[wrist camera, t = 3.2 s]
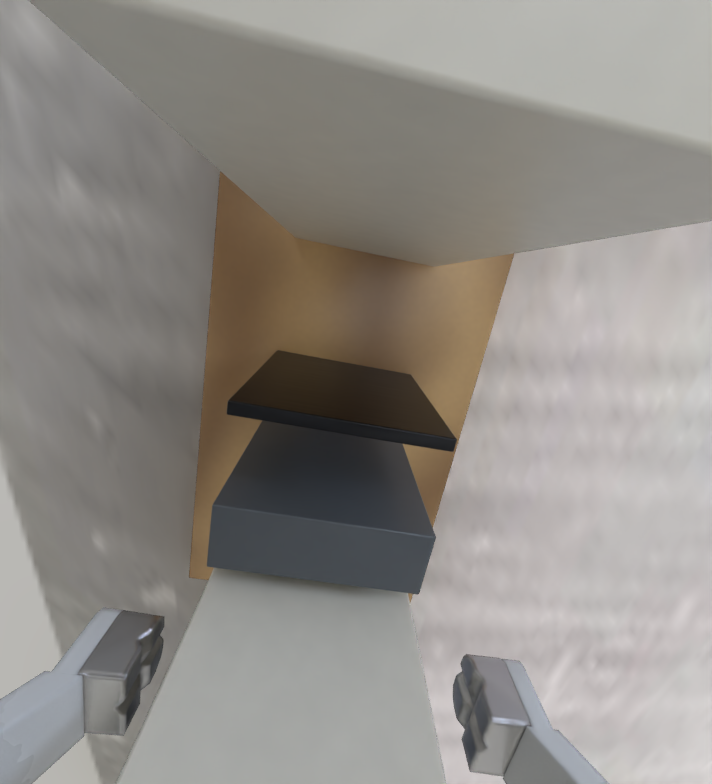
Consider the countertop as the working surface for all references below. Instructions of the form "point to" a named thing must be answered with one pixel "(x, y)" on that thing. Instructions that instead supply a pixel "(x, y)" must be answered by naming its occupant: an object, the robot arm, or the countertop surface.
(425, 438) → the thin black tile
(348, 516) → the grey books
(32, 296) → the countertop surface
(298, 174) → the cream books
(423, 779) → the thin cream book
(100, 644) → the robot arm
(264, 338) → the book board
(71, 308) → the countertop surface
